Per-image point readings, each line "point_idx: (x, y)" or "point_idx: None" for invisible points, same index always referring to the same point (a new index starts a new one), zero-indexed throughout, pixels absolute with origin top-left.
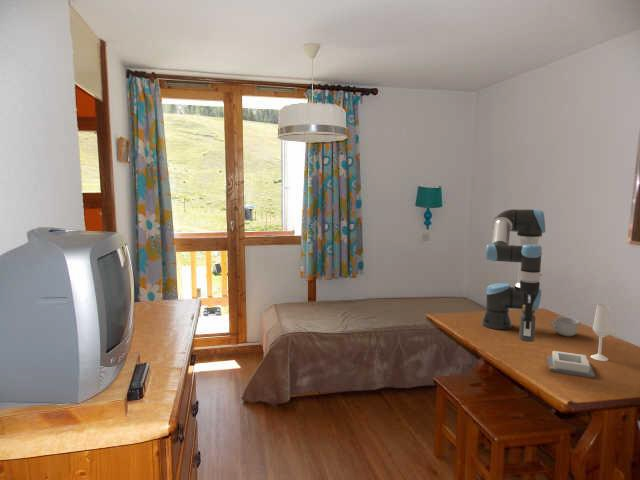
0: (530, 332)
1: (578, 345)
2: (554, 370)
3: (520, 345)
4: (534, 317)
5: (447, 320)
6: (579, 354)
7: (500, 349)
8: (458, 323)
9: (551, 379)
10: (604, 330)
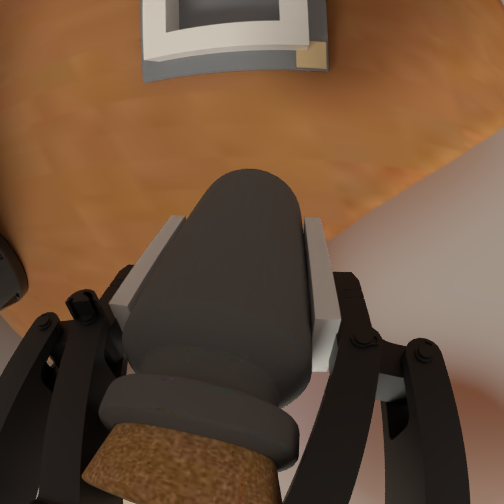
0: (323, 237)
1: (5, 36)
2: (327, 51)
3: (80, 193)
4: (250, 318)
5: None
6: None
7: None
8: None
9: (418, 83)
10: None
